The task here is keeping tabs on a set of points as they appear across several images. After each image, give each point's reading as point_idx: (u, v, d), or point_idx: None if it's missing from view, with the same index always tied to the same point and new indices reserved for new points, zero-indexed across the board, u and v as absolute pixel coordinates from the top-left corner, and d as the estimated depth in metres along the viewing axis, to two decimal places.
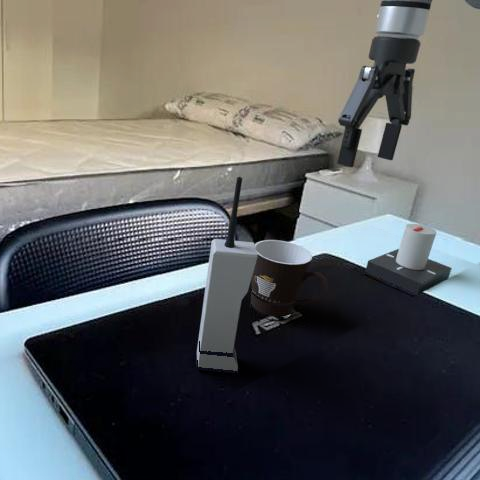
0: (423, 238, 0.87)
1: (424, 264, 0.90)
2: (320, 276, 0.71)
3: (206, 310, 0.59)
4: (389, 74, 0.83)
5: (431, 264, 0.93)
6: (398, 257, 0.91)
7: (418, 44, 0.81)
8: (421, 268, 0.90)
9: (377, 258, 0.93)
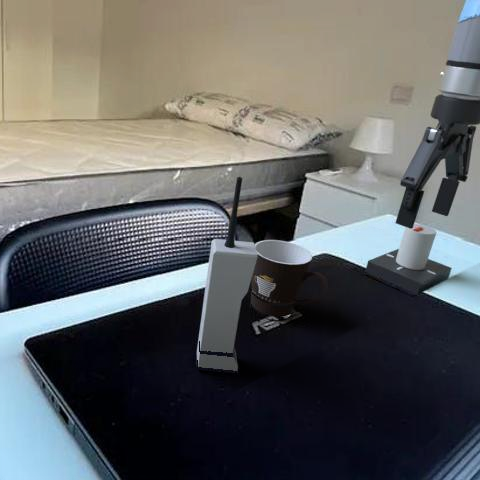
0: (423, 238, 0.87)
1: (424, 264, 0.90)
2: (320, 276, 0.71)
3: (206, 310, 0.59)
4: (453, 134, 0.81)
5: (431, 264, 0.93)
6: (398, 257, 0.91)
7: None
8: (421, 268, 0.90)
9: (377, 258, 0.93)
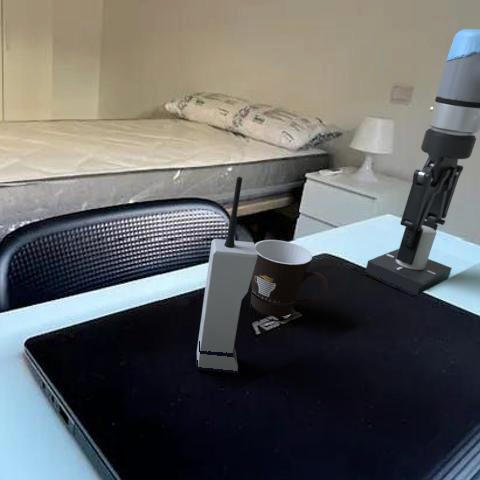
0: (423, 238, 0.87)
1: (424, 264, 0.90)
2: (320, 276, 0.71)
3: (206, 310, 0.59)
4: (442, 170, 0.83)
5: (431, 264, 0.93)
6: None
7: (474, 141, 0.80)
8: (421, 268, 0.90)
9: (377, 258, 0.93)
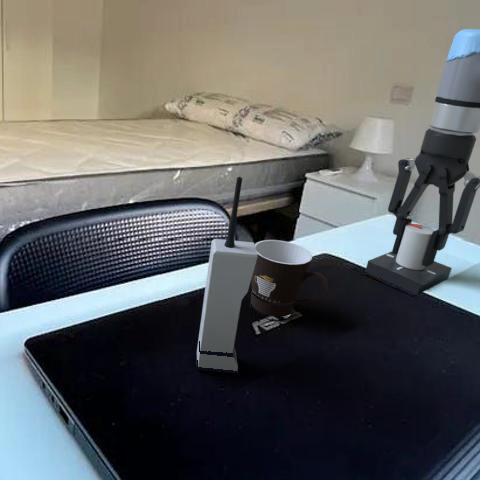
0: (405, 231, 0.90)
1: (404, 261, 0.90)
2: (320, 276, 0.71)
3: (206, 310, 0.59)
4: (426, 164, 0.85)
5: (431, 264, 0.93)
6: None
7: (442, 138, 0.80)
8: (400, 264, 0.91)
9: (377, 258, 0.93)
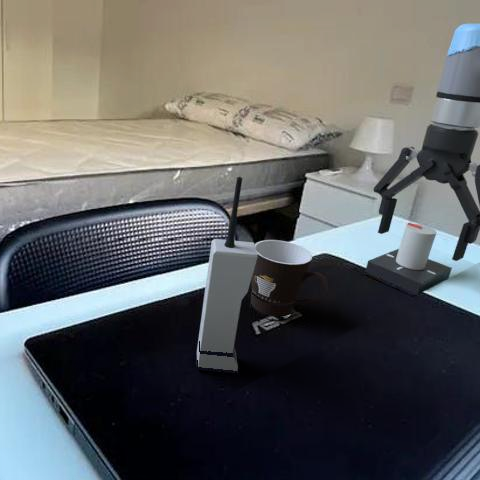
0: (405, 231, 0.90)
1: (404, 261, 0.90)
2: (320, 276, 0.71)
3: (206, 310, 0.59)
4: (429, 159, 0.85)
5: (431, 264, 0.93)
6: None
7: (443, 133, 0.80)
8: (400, 264, 0.91)
9: (377, 258, 0.93)
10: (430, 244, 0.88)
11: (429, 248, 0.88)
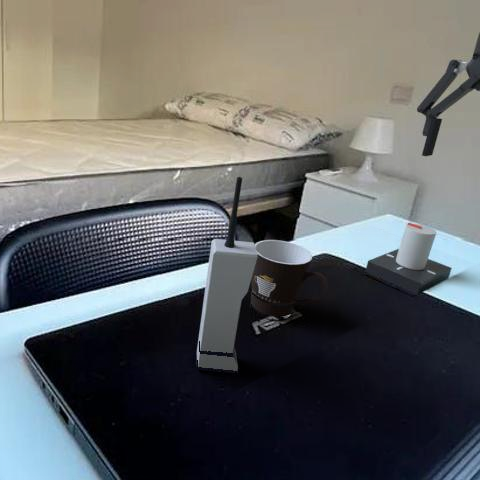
0: (405, 231, 0.90)
1: (404, 261, 0.90)
2: (320, 276, 0.71)
3: (206, 310, 0.59)
4: None
5: (431, 264, 0.93)
6: None
7: None
8: (400, 264, 0.91)
9: (377, 258, 0.93)
10: (430, 244, 0.88)
11: (429, 248, 0.88)
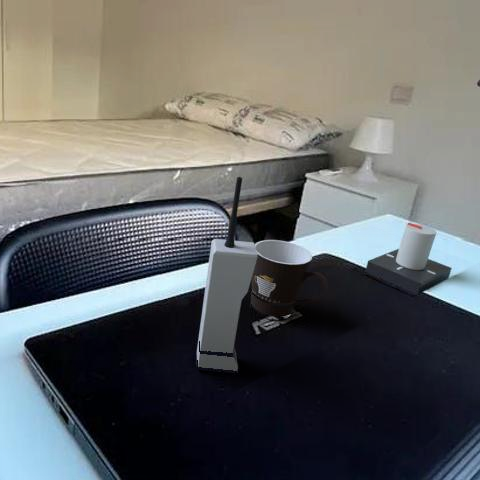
0: (405, 231, 0.90)
1: (404, 261, 0.90)
2: (320, 276, 0.71)
3: (206, 310, 0.59)
4: None
5: (431, 264, 0.93)
6: None
7: None
8: (400, 264, 0.91)
9: (377, 258, 0.93)
10: (430, 244, 0.88)
11: (429, 248, 0.88)
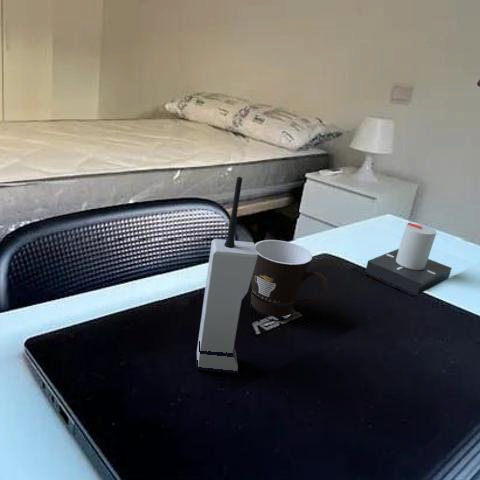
0: (405, 231, 0.90)
1: (404, 261, 0.90)
2: (320, 276, 0.71)
3: (206, 310, 0.59)
4: None
5: (431, 264, 0.93)
6: None
7: None
8: (400, 264, 0.91)
9: (377, 258, 0.93)
10: (430, 244, 0.88)
11: (429, 248, 0.88)
